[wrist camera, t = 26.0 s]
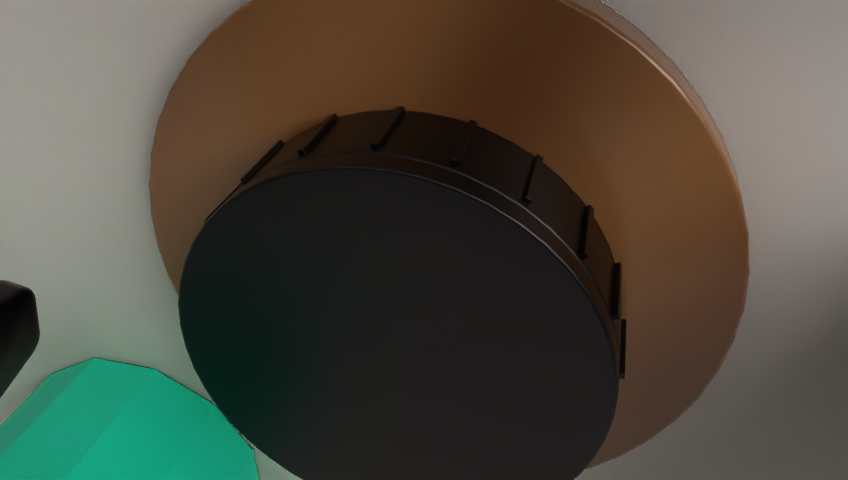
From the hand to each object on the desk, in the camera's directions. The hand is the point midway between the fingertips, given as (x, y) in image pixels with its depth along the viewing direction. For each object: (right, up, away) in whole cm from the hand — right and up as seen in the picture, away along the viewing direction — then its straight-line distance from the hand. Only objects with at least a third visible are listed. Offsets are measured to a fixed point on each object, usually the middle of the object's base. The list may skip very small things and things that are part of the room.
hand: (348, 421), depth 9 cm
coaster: (+1, +2, +3) cm, 4 cm away
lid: (+1, +1, +2) cm, 2 cm away
